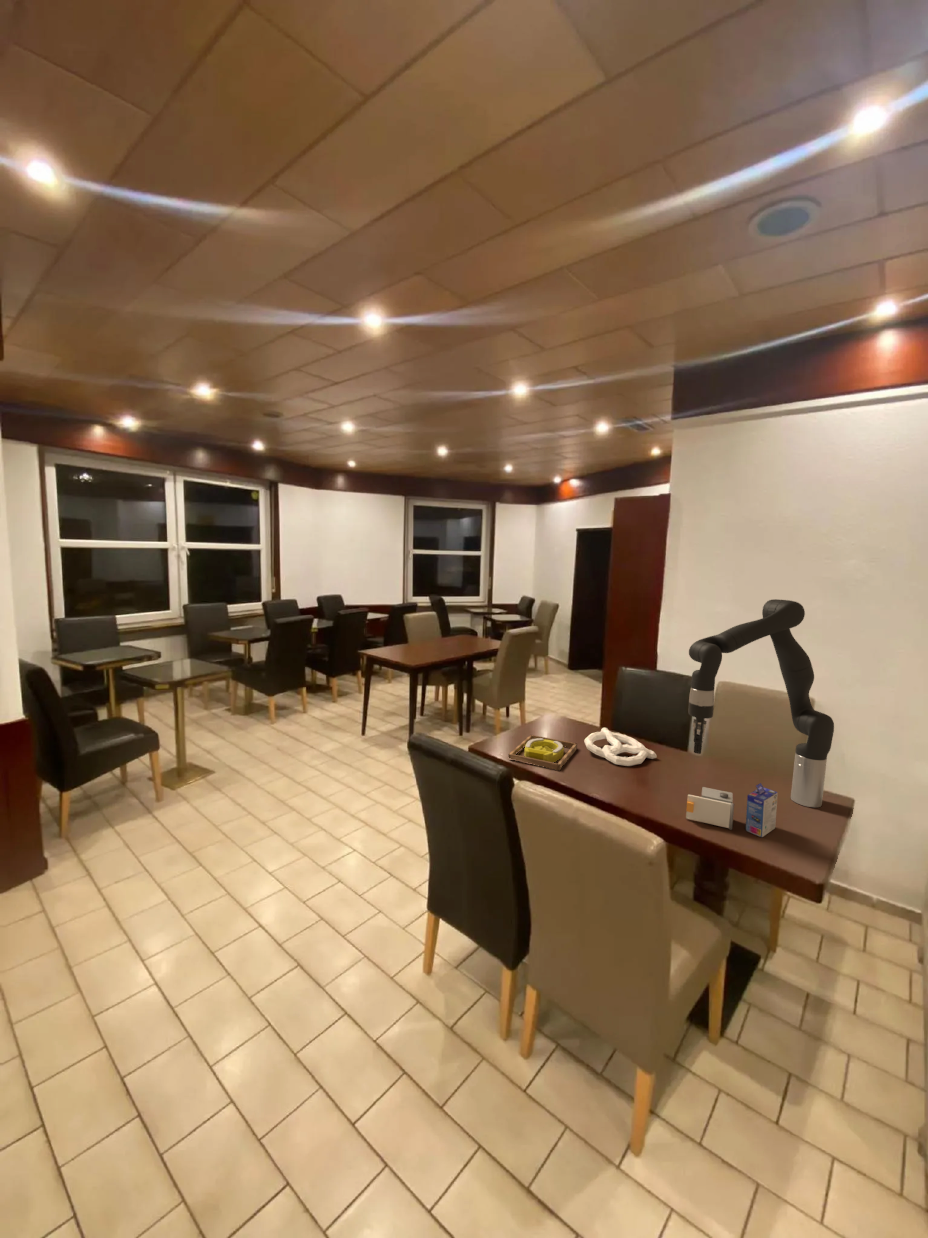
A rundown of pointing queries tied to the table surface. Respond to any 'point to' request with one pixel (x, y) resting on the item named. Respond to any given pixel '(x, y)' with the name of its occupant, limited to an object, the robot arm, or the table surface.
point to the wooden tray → (540, 762)
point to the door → (710, 811)
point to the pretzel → (618, 748)
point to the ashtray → (544, 750)
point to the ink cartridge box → (761, 811)
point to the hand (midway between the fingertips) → (697, 751)
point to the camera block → (717, 795)
